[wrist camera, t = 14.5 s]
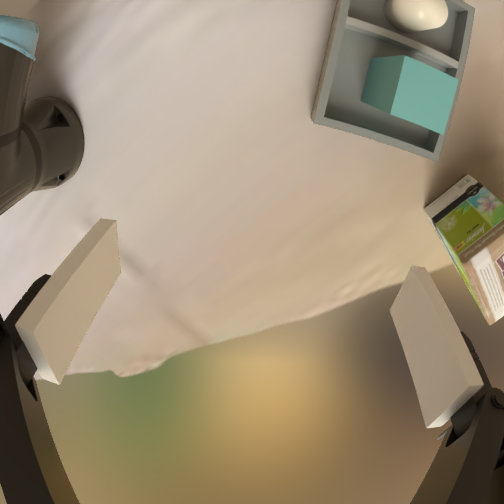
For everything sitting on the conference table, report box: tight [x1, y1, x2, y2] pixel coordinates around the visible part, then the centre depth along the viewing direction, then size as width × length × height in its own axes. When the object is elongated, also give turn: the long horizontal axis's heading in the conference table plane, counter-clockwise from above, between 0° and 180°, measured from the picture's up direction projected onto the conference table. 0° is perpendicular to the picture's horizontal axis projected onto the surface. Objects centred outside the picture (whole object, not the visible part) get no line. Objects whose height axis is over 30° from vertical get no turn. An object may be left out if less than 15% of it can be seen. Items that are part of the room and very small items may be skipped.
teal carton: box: [361, 55, 458, 135], centre depth 29 cm, size 6×6×12 cm
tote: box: [311, 0, 475, 162], centre depth 30 cm, size 17×23×4 cm
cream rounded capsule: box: [384, 0, 448, 33], centre depth 25 cm, size 6×6×7 cm
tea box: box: [424, 174, 504, 325], centre depth 37 cm, size 15×10×15 cm, turn 45°
